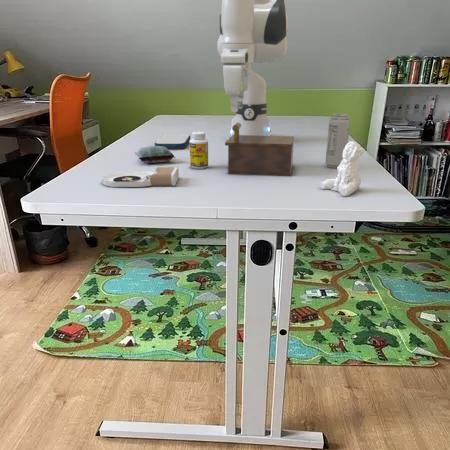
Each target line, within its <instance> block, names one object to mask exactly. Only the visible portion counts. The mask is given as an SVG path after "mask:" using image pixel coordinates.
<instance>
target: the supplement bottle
mask: <svg viewBox="0 0 450 450" xmlns="http://www.w3.org/2000/svg"><path fill="white" fill-rule="evenodd" d="M188 143H189V166H190V168H191V169H194V170H204V169H207V168H208V167H209V140H208V139H207V138H206V132H204V131H192V132H191V138H190V140H189V142H188Z"/></svg>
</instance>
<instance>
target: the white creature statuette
mask: <svg viewBox="0 0 450 450" xmlns="http://www.w3.org/2000/svg"><path fill="white" fill-rule="evenodd" d="M365 151H366V148H362V146H361V145H360V144H359V143H357V142H356V141H352V140H350V141H349V140H348V143H347V144H346V146H345V149H343V154H342V156H343V160H342V161H341V163H340V165H339V166H338V167H337V168H336V169H337V176H336V177H334V178H326V179H325V180H322V181H321V182H320V188H321V190H331V191H335V192H338V193H340V195H341V197H349V196H351V195H352V194H353V193H355V192H356V191H357V190H358V189H360V185H361V183H362V179H361V176H360V173H359V168H360V167H359V166H358V162H357V161H356V160H358V159H360V157H361V156H362V155H363V154H364V153H365Z"/></svg>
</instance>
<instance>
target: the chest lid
mask: <svg viewBox="0 0 450 450" xmlns="http://www.w3.org/2000/svg"><path fill="white" fill-rule="evenodd" d="M231 127H232V126H231ZM240 128H241V124H240V123H236V124H235V125H234V126H233V127H232V129H233V131H234V135H232V136H231V135H230V138H229V137H228V138H229V139H228V140H227V139H226V141H225V142H224V146H227V147H228V146H264V147H292V144H293V145H294V142H293V140H295V136H294V135H293V136H290V135H288V136H287V135H271V136H254V135H239V129H240Z"/></svg>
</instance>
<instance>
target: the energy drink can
mask: <svg viewBox="0 0 450 450" xmlns="http://www.w3.org/2000/svg"><path fill="white" fill-rule="evenodd" d="M349 116H350V114H348V113H331V117H330V118H329V120H328V129H327V130H328V131H327V142H326V152H325V162H324V163H325V164H326V167H327V168H331V169H337V167H338V166H339V165H340V163H341V161H342V160H343V156H342V154H343V149H345V146H346V144H347V143H349V136H350V128H351V127H350V126H351V120H350V117H349Z"/></svg>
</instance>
